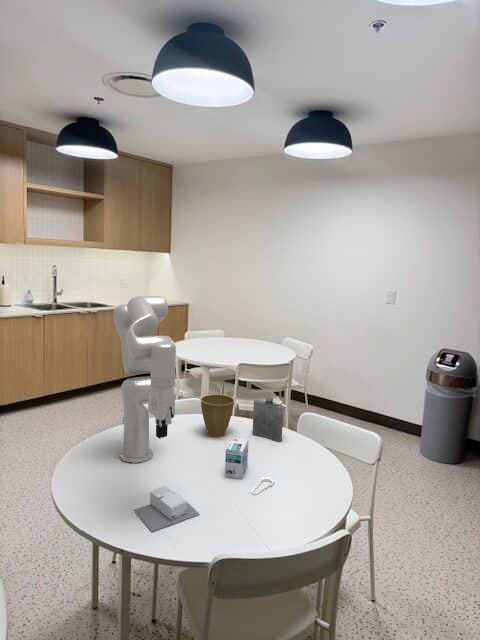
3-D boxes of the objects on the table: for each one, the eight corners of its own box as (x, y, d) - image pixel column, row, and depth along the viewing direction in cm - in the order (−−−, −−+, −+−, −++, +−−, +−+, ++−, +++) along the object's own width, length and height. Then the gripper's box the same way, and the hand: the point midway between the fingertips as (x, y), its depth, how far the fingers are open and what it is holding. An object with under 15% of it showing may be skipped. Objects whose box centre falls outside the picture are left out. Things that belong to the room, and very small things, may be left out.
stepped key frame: (263, 500, 150) (263, 495, 149) (249, 496, 152) (249, 492, 152) (276, 481, 161) (276, 477, 161) (264, 478, 163) (264, 473, 163)
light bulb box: (242, 479, 161) (243, 451, 159) (224, 477, 162) (225, 449, 161) (247, 466, 171) (249, 439, 170) (230, 463, 173) (231, 437, 171)
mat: (133, 510, 139) (133, 509, 139) (179, 495, 149) (179, 494, 149) (151, 532, 129) (151, 531, 129) (199, 515, 138) (199, 513, 138)
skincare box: (165, 484, 146) (187, 499, 138) (165, 497, 147) (187, 512, 138) (148, 491, 142) (171, 506, 134) (149, 504, 143) (171, 520, 134)
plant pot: (232, 441, 193) (234, 405, 191) (198, 439, 193) (199, 404, 191) (233, 427, 208) (234, 394, 206) (201, 426, 208) (202, 393, 206)
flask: (255, 432, 204) (257, 394, 201) (283, 440, 197) (285, 400, 194) (251, 434, 201) (252, 396, 198) (279, 442, 194) (282, 402, 191)
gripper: (141, 376, 143) (140, 430, 146) (162, 390, 131) (161, 448, 134) (162, 373, 147) (161, 425, 150) (185, 386, 135) (183, 443, 138)
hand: (161, 436), depth 142 cm, fingers closed
